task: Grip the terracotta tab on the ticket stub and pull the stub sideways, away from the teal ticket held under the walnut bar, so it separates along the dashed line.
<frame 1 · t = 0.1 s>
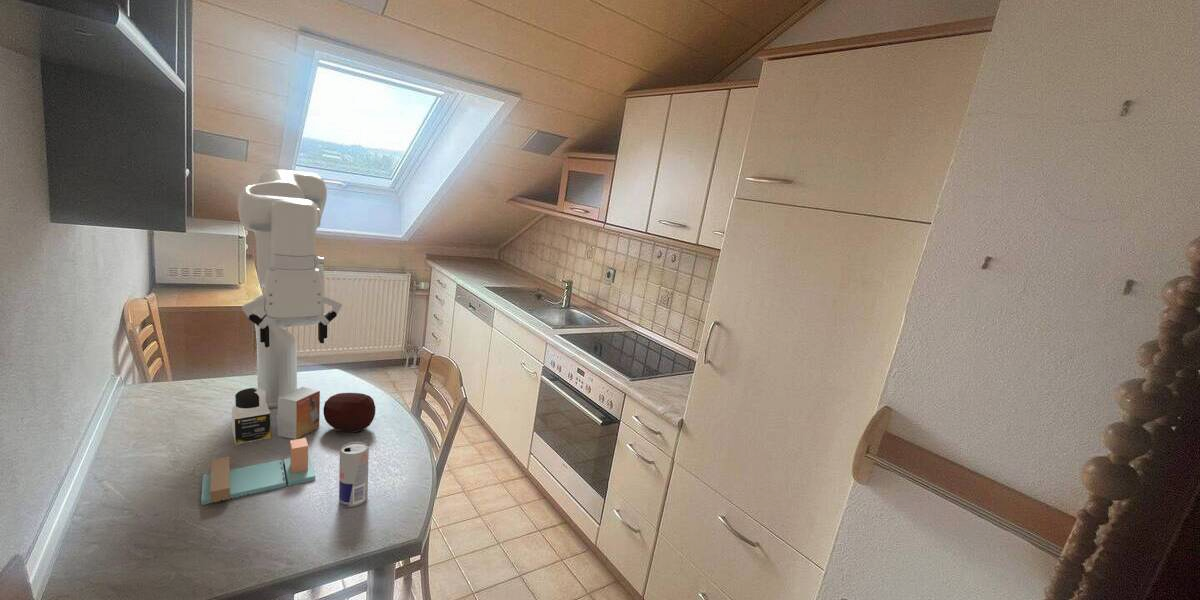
hand: (294, 343, 100), 31 cm above the table, tool pointing down, fingers open, 9 cm apart
stub: (299, 457, 108), point 3 cm above the table, slide at 0.0 cm
energy drink: (353, 500, 101), on the table
small box: (299, 432, 125), on the table
ticket: (244, 482, 102), on the table
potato: (349, 430, 129), on the table
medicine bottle: (251, 436, 120), on the table
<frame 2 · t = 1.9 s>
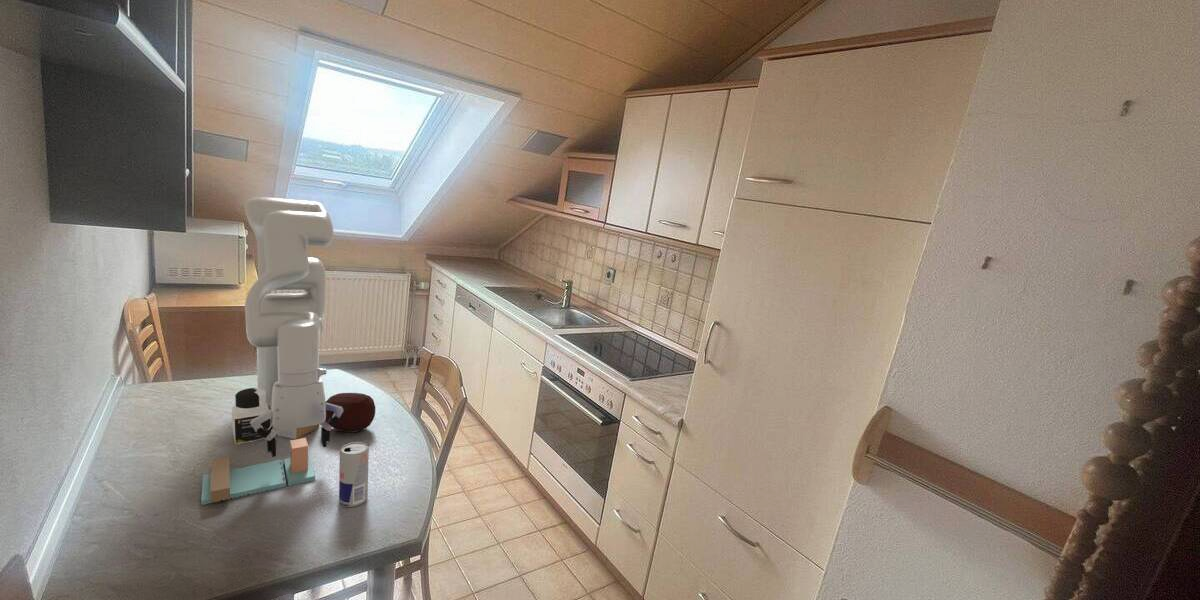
hand: (299, 449, 107), 6 cm above the table, tool pointing down, fingers open, 9 cm apart
nothing on the table moved.
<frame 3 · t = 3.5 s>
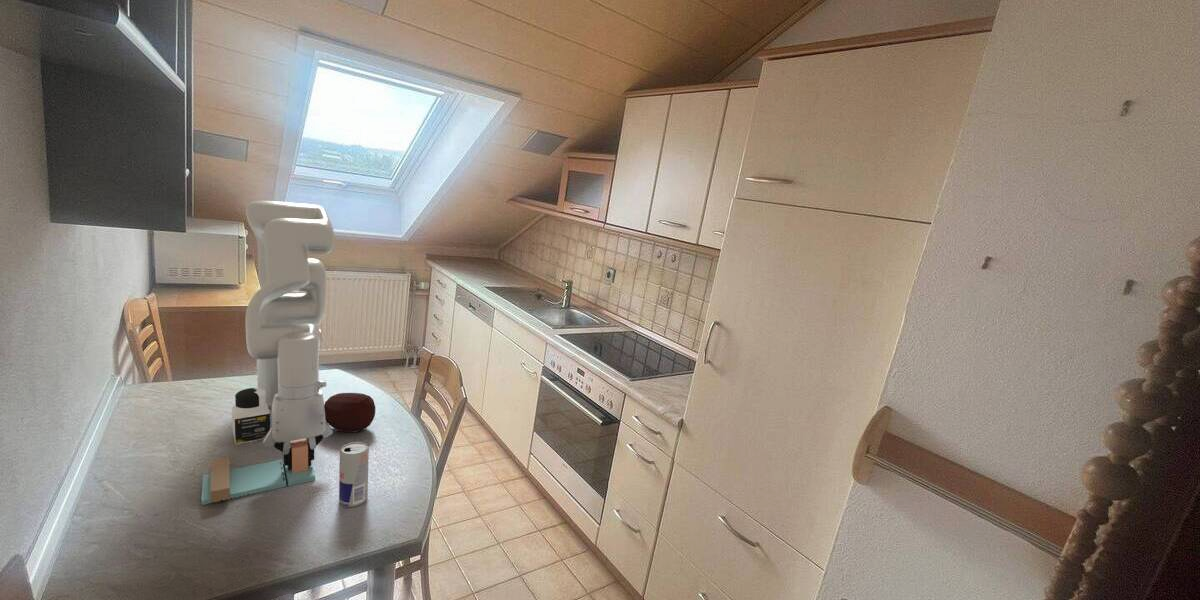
hand: (299, 464, 108), 2 cm above the table, tool pointing down, fingers closed on stub, 3 cm apart
stub: (299, 457, 108), point 3 cm above the table, slide at 0.0 cm, touching gripper
everything else where it was.
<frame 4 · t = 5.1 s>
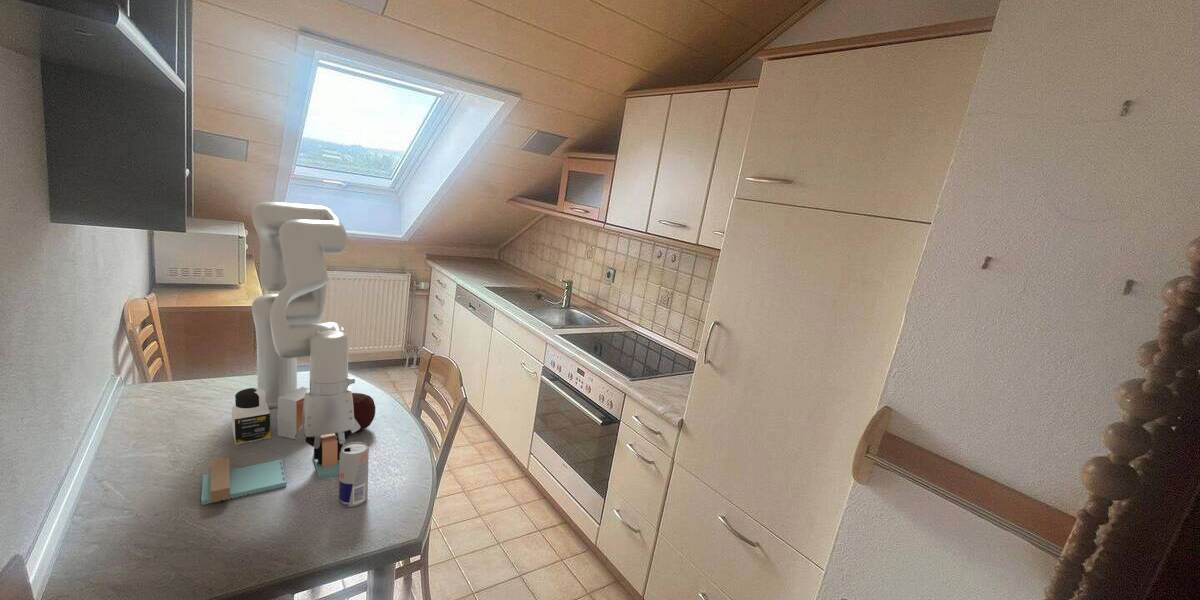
hand: (328, 458, 112), 2 cm above the table, tool pointing down, fingers closed on stub, 3 cm apart
stub: (328, 451, 111), point 3 cm above the table, slide at 5.8 cm, touching gripper
everything else where it was.
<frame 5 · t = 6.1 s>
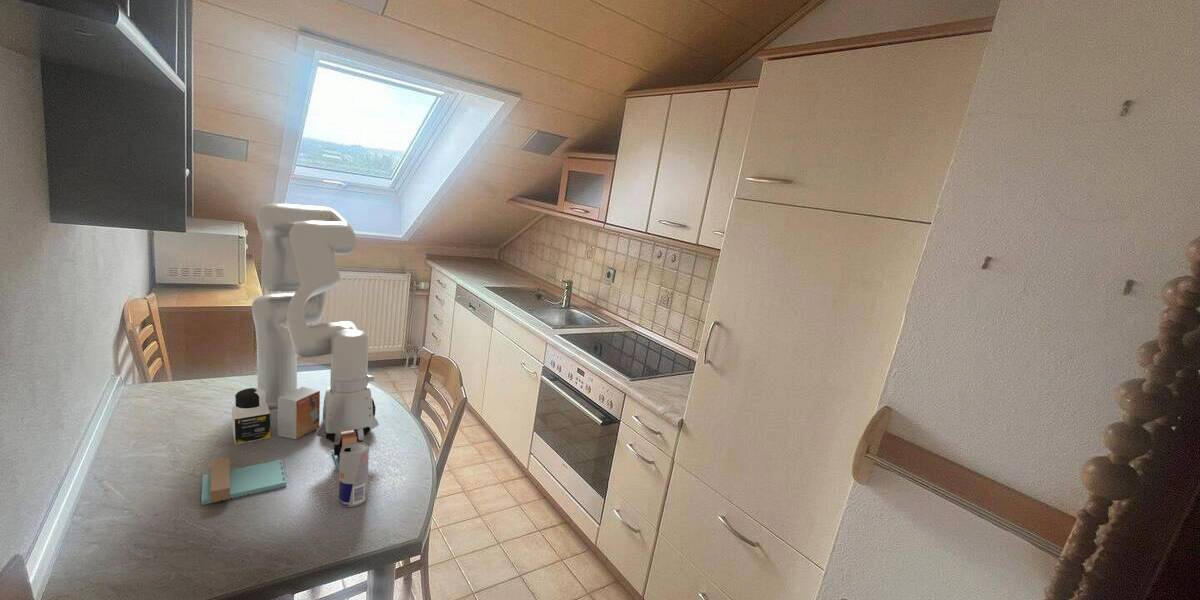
hand: (347, 454, 114), 2 cm above the table, tool pointing down, fingers closed on stub, 3 cm apart
stub: (347, 447, 114), point 3 cm above the table, slide at 9.9 cm, touching gripper
everything else where it was.
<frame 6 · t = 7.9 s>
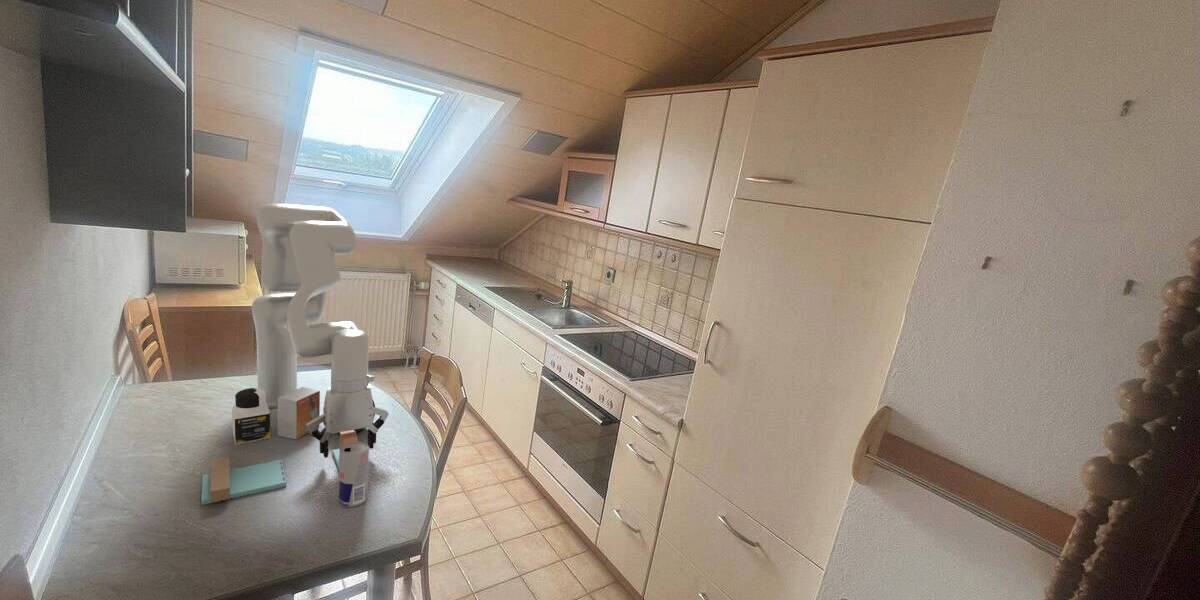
hand: (348, 450, 114), 3 cm above the table, tool pointing down, fingers open, 9 cm apart
stub: (348, 447, 114), point 3 cm above the table, slide at 10.0 cm
everything else where it was.
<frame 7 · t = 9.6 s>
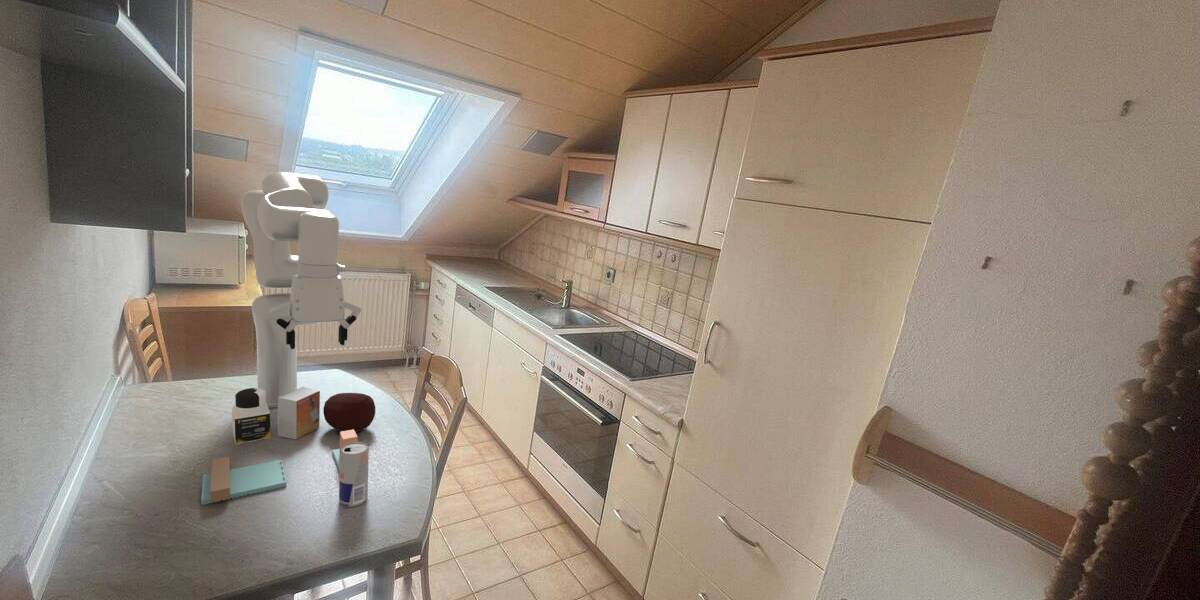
hand: (317, 345, 108), 29 cm above the table, tool pointing down, fingers open, 9 cm apart
nothing on the table moved.
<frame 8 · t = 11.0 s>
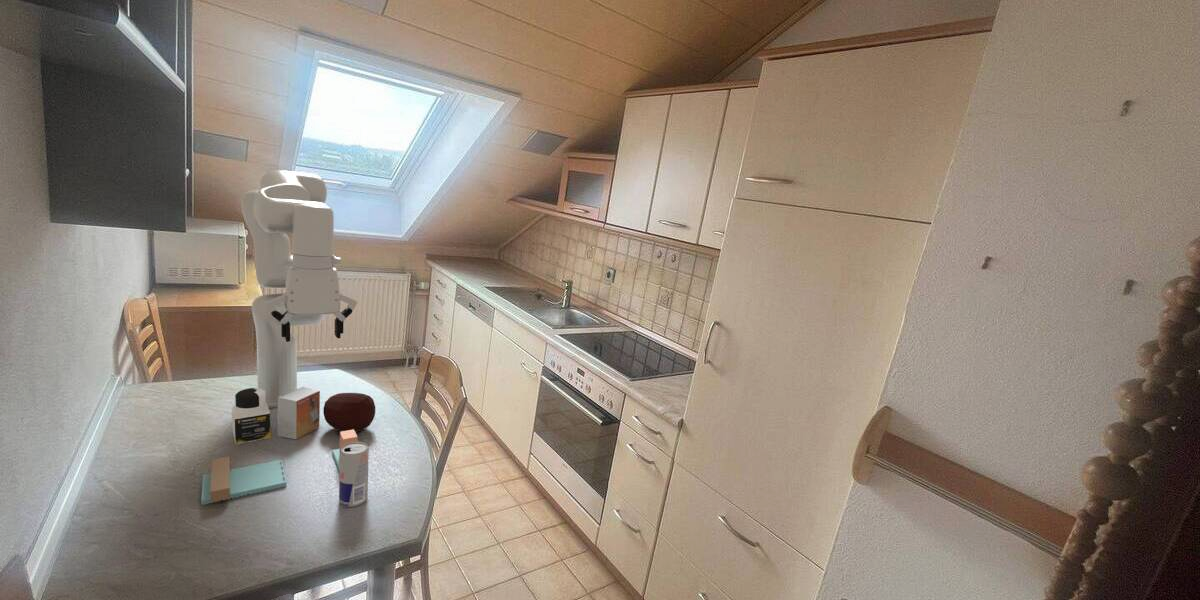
hand: (313, 338, 107), 30 cm above the table, tool pointing down, fingers open, 9 cm apart
nothing on the table moved.
at the end: stub slide at 10.0 cm; the gripper is holding nothing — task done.
